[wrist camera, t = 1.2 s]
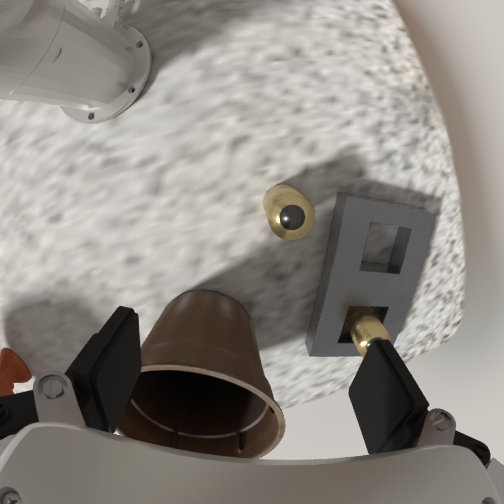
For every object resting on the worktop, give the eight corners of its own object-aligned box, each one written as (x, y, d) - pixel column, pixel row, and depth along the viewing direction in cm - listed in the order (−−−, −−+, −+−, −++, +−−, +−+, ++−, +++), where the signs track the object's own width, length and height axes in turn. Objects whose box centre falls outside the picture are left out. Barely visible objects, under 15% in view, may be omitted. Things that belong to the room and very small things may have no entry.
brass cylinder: (265, 181, 30) (271, 191, 23) (302, 186, 30) (319, 197, 23) (261, 218, 31) (265, 237, 24) (297, 222, 31) (311, 242, 24)
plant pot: (228, 247, 32) (215, 335, 17) (292, 345, 37) (313, 445, 22) (124, 306, 34) (70, 393, 19) (194, 385, 39) (179, 476, 24)
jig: (337, 192, 30) (362, 204, 23) (422, 208, 31) (456, 223, 24) (305, 342, 37) (315, 378, 30) (381, 342, 37) (400, 373, 31)
